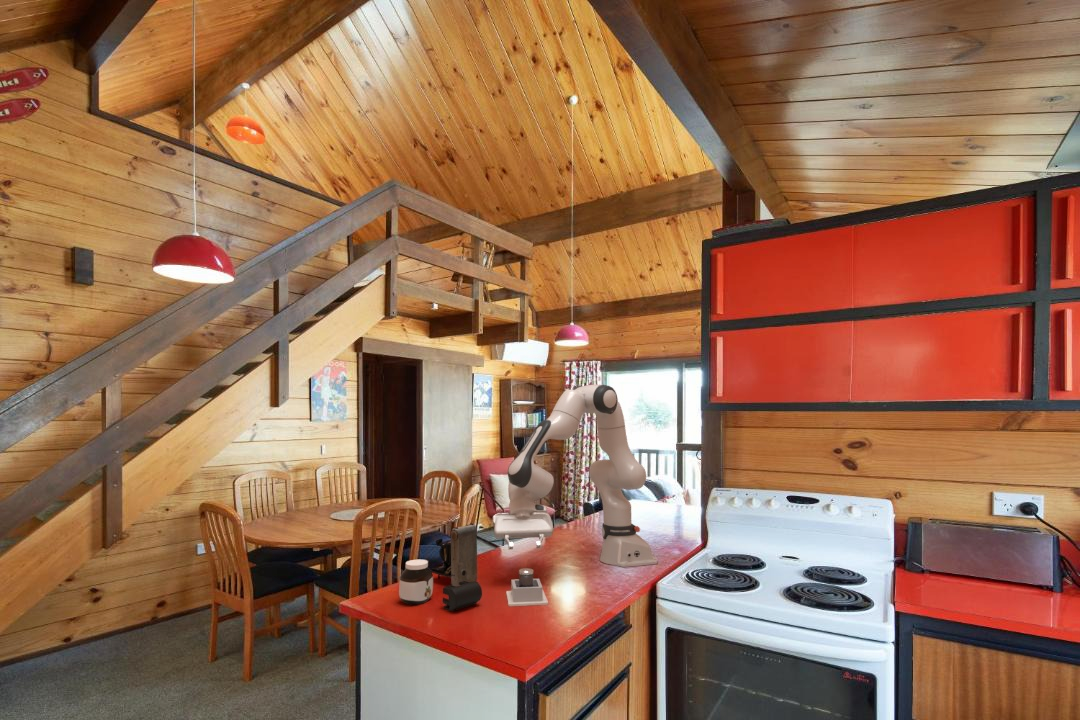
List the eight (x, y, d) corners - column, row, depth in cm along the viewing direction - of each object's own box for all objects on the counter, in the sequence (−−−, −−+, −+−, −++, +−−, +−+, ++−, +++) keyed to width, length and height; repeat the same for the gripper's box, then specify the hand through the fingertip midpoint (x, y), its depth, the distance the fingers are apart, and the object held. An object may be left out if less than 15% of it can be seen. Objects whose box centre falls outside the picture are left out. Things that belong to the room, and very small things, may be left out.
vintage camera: (446, 576, 194) (445, 519, 196) (478, 582, 185) (477, 523, 187) (426, 583, 186) (425, 524, 188) (458, 590, 177) (457, 528, 179)
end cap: (456, 615, 156) (456, 590, 156) (441, 608, 161) (441, 585, 161) (482, 606, 163) (482, 582, 164) (467, 600, 168) (467, 578, 169)
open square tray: (543, 591, 176) (543, 577, 176) (548, 604, 164) (548, 588, 164) (506, 593, 174) (506, 578, 175) (508, 606, 163) (508, 590, 163)
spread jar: (412, 608, 161) (413, 568, 162) (386, 601, 167) (387, 562, 168) (440, 596, 171) (441, 559, 172) (415, 590, 177) (416, 553, 178)
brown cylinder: (532, 594, 172) (532, 568, 173) (533, 598, 167) (534, 572, 168) (518, 594, 171) (518, 568, 172) (519, 599, 167) (519, 572, 168)
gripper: (492, 508, 187) (493, 544, 176) (551, 506, 189) (555, 541, 179) (492, 518, 191) (493, 554, 180) (549, 516, 193) (553, 551, 183)
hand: (524, 548), depth 180 cm, fingers open, 8 cm apart
